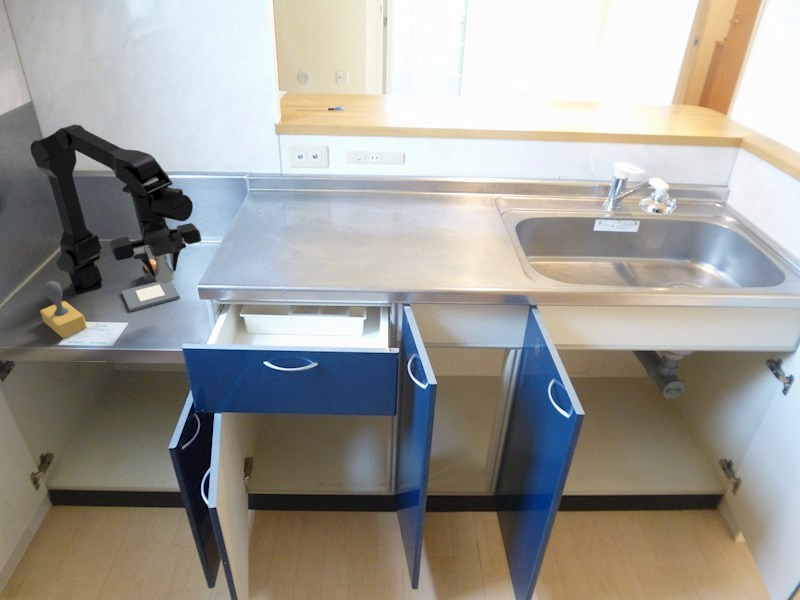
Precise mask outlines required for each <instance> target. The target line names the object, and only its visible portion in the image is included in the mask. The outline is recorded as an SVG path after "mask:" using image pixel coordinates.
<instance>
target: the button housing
mask: <svg viewBox="0 0 800 600" xmlns="http://www.w3.org/2000/svg"><path fill="white" fill-rule="evenodd" d="M139 267H140V270H141V271H140V272H141V274H142V278H143V280H144V282H145V283H146V284H150V283H154V282H157V281H156V280H155V276H154V277H153V275H152V274H151V272H150V273H146V271H145V267H144V264H143V265H140V266H139ZM155 272H156V271H154V273H155ZM146 284H145V285H146Z"/></svg>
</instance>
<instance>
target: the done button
mask: <svg viewBox="0 0 800 600" xmlns="http://www.w3.org/2000/svg"><path fill="white" fill-rule="evenodd" d="M154 259H155V258H153V259H151V258H149V260H150V263H151V265H152V267H153V270H154V271H156V261H155V260H154ZM143 265H144V267H145V271H146V273H150V271H149V269H148V268H147V266H146V265H145V264H144V263H143Z"/></svg>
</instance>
